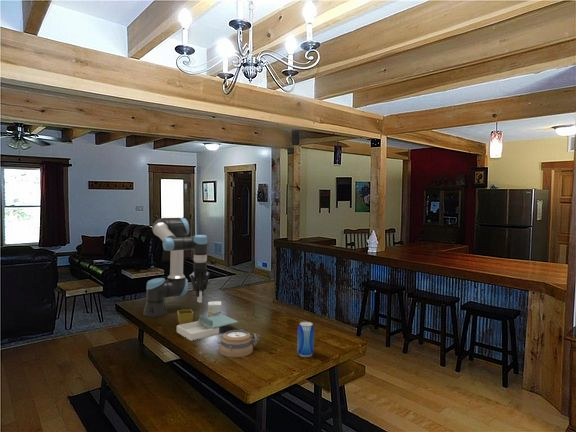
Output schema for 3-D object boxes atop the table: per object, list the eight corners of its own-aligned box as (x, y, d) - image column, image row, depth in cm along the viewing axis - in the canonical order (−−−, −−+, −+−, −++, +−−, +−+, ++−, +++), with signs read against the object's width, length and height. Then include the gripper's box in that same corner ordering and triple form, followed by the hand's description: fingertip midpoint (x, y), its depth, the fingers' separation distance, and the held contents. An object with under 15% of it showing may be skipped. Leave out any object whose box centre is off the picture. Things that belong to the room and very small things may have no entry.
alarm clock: (213, 333, 198) (246, 323, 216) (212, 351, 199) (245, 339, 216) (234, 342, 187) (268, 330, 204) (234, 360, 187) (267, 347, 205)
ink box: (221, 322, 244) (221, 304, 244) (207, 323, 242) (207, 304, 242) (220, 318, 253) (221, 300, 252) (207, 319, 251) (207, 301, 250)
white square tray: (176, 332, 225) (176, 325, 225) (203, 326, 236) (203, 319, 236) (191, 341, 211) (191, 333, 211) (219, 334, 223) (219, 327, 223)
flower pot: (176, 324, 238) (176, 310, 238) (191, 323, 242) (191, 309, 241) (178, 329, 230) (178, 314, 230) (193, 327, 233) (193, 312, 233)
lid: (197, 320, 233) (197, 314, 233) (222, 315, 245) (222, 309, 245) (212, 328, 220) (212, 322, 220) (238, 322, 232) (238, 316, 232)
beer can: (296, 351, 201) (297, 321, 200) (312, 351, 201) (313, 321, 201) (298, 358, 192) (298, 326, 192) (314, 357, 193) (315, 326, 192)
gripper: (193, 263, 216) (192, 305, 217) (213, 261, 225) (212, 301, 226) (186, 261, 222) (186, 302, 223) (206, 259, 230) (206, 298, 231)
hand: (199, 301), depth 224 cm, fingers closed
